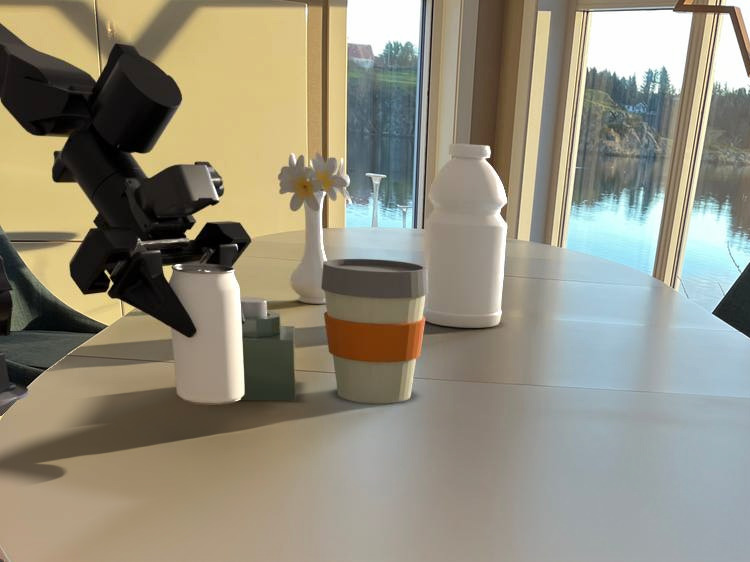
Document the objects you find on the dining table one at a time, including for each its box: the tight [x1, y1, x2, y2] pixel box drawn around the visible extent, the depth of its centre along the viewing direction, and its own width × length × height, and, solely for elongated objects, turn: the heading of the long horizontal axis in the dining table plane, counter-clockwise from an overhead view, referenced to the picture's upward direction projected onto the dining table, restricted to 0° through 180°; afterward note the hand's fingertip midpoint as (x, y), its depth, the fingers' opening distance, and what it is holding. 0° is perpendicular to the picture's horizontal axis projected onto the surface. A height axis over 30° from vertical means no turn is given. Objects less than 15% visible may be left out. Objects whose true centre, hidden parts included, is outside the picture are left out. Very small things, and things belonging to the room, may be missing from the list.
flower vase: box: [277, 152, 352, 305], centre depth 172 cm, size 13×18×25 cm
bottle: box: [422, 142, 508, 329], centre depth 161 cm, size 14×14×28 cm
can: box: [168, 263, 244, 406], centre depth 90 cm, size 6×6×12 cm
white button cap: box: [240, 296, 268, 318], centre depth 110 cm, size 4×4×2 cm
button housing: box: [239, 310, 297, 402], centre depth 112 cm, size 10×9×9 cm
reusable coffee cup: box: [321, 258, 428, 405], centre depth 113 cm, size 13×13×15 cm
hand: (217, 330), depth 89 cm, fingers closed on can, 6 cm apart
